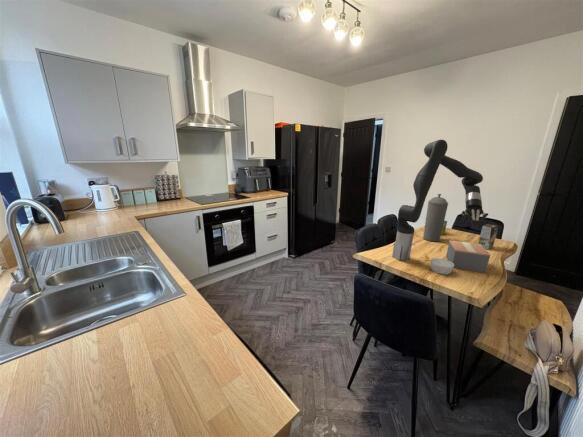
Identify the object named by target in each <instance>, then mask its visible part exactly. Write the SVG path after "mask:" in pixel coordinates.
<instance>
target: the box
mask: <svg viewBox="0 0 583 437" xmlns="http://www.w3.org/2000/svg"><path fill="white" fill-rule="evenodd" d="M445 257H446V260H449V261H451V262H452V263H454V267H453V269H454V268H455V269H460V270H465V271H466V270H467V271H472V272H479V273H484V274H486V273H487V269H488V265H489V263H490V262H489V261H490V258H491V255H490V256H485V255H478V254H471V253H464V252H457V251H455V250H454V248H453V247H452V245H451V244H450V242H448V245H447V251H446V255H445Z"/></svg>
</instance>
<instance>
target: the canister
mask: <svg viewBox="0 0 583 437" xmlns="http://www.w3.org/2000/svg"><path fill="white" fill-rule="evenodd" d="M441 195H442V193H437V196H435V197H432V198H431V199H429V200H428V202H427V209H426V215H425V216H426V217H425V222H424V230H423V236H422V237H423V239H424V240H425V241H428V242H439V241H440V239H441V236H442V235H441V232H442V228H443V224H444V220H445V221H446V216H447V210H448V206H449V202H448V201H447V199H446V198H444V197H441Z"/></svg>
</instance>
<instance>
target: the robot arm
mask: <svg viewBox="0 0 583 437" xmlns="http://www.w3.org/2000/svg"><path fill="white" fill-rule="evenodd" d="M447 151H448V143H447V141H446V140H444V139H437V140H434V141H432V142H429V143H427V144H426V145H425V146H424V149H423V152H424V154H425V156H426V157H427V158H428V160H427V162H426V163H425V164H424V165H423V166H422V168H421V169H420V170H419V171H418V173H417V175H416V177H415V179H414V181H413V190H414V194H415V203H414V205H413V206H412V205H408V204H403V205H401V206H400V207H399V209H398V214H397V226H396V227H397V229H396V230H397V231H396V237H395V242H393V249H392V257H393V258H395V259H396V260H398V261H403V262H404V261H409V260H410V259H411V253H412V246H413V240H414V235H415V228H414V227H413V226H412V225H411V224H410V223H418V220H419V219H420V217H421V216H422V215H421V214H422V210H423V208H424V204H425V201H426V198H427V196H428V193H429V192H430V190H431V187H432V184H433V182H434V179H435V176H436V173H438V169H439V167H440V165H441V166H443V167H444V168H446V169H448V170H449V171H450V172H451V173H452V174H454V175H455V176H456V177H458V178H459V179H460V178H462V179H461V184H462V187H463V188H464V190H465V200H464V201H465V210H463V211H462V212H461V213H460V215H461V216H462V217H463V218H464V219H465V220H466V221H467V222H471V223H470V224H471V227H472V228H473V229H477V228H478V227H479V225H480V224H479V223H481V222H482V221H483V220H484V219H486V218H487V217H488V216H489V213H487V212H486V213H485V212H484V211H485V210H483V202H482V201H483V200H482V197H481V196H482V195H481V188H480V186H478V184H480V183H482V182H483V180H484V177H483V174H481V173H480V172H478V171H476V170H474V169H471V168H469V167H468V166H466V165H465V163H463V162H462V161H459V160H457V159H456V158H452V157H450V156H447V155H446V153H447ZM409 222H410V223H409Z"/></svg>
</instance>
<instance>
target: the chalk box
mask: <svg viewBox="0 0 583 437" xmlns="http://www.w3.org/2000/svg"><path fill="white" fill-rule="evenodd" d="M447 223H448V221H447V220H446V219H445V220H444V224H443V228H442V232H441V236H442V235H445V233H446V229H447V226H448V225H447Z"/></svg>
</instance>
